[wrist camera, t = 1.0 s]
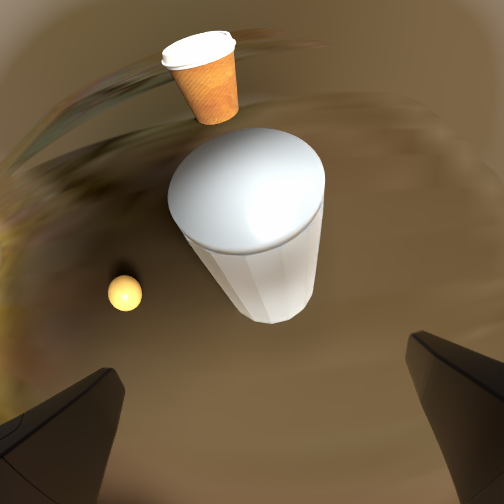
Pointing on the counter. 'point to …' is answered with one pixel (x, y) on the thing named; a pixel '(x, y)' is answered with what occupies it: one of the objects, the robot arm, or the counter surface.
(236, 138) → the white tapered cylinder
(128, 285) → the amber ball
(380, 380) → the counter surface
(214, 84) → the disposable coffee cup
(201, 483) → the counter surface
